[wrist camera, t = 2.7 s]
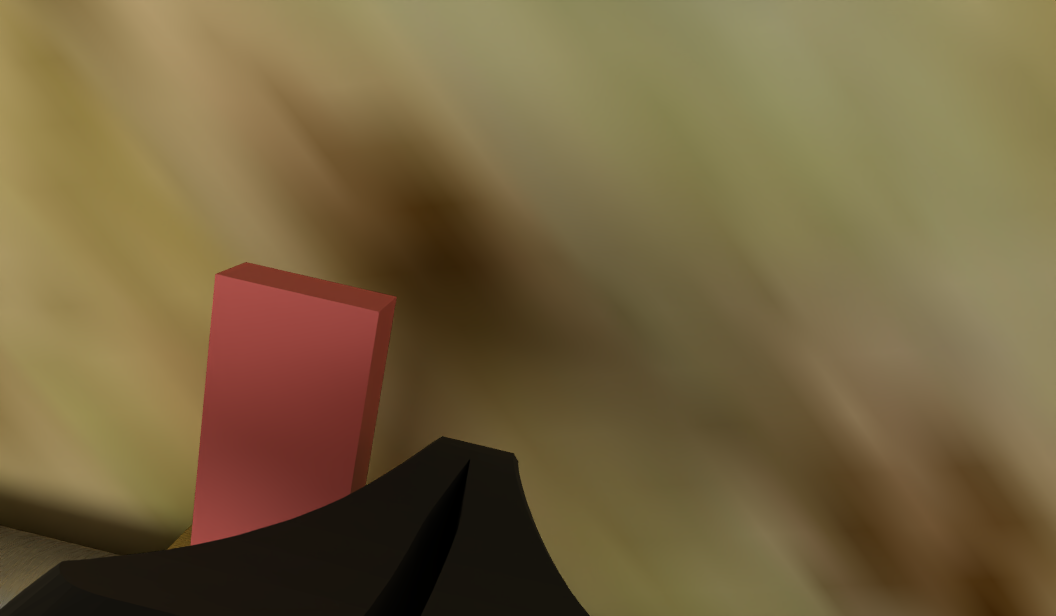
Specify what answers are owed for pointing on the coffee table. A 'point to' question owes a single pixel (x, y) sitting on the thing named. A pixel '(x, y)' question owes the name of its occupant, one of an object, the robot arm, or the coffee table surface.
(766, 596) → the coffee table surface
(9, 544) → the valve pipe
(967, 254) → the coffee table surface
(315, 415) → the lever
